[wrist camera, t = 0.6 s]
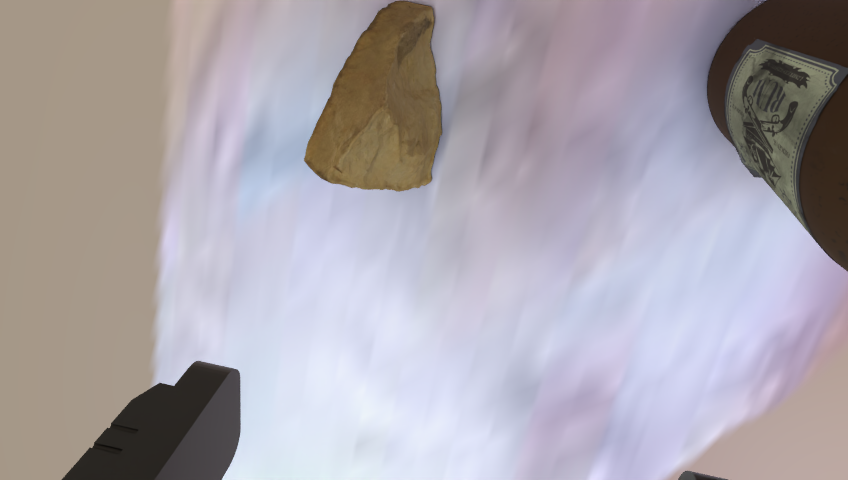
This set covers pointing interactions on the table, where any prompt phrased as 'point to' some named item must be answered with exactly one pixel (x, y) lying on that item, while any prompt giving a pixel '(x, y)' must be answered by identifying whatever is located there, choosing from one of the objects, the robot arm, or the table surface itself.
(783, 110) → the olive oil
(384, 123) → the rock
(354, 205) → the table surface
